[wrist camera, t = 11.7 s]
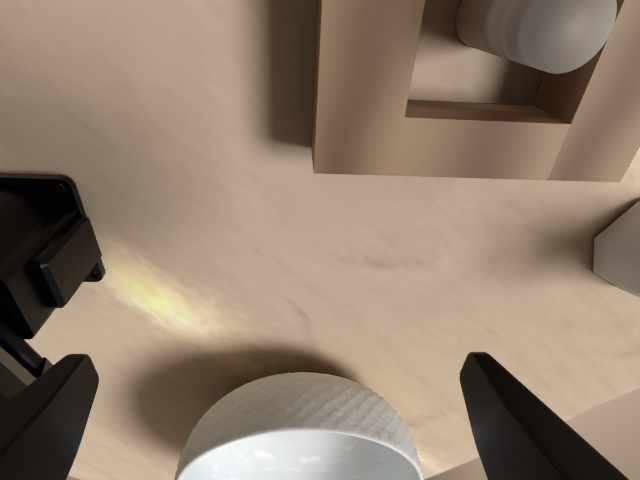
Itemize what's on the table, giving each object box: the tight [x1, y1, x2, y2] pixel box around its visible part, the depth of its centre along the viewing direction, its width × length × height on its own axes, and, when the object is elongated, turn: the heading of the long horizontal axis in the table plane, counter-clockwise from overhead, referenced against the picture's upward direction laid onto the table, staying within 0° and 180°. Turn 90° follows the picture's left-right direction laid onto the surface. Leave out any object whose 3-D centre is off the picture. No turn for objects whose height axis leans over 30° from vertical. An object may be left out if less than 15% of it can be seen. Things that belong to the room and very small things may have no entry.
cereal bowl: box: [175, 372, 423, 480], centre depth 28 cm, size 17×17×7 cm
